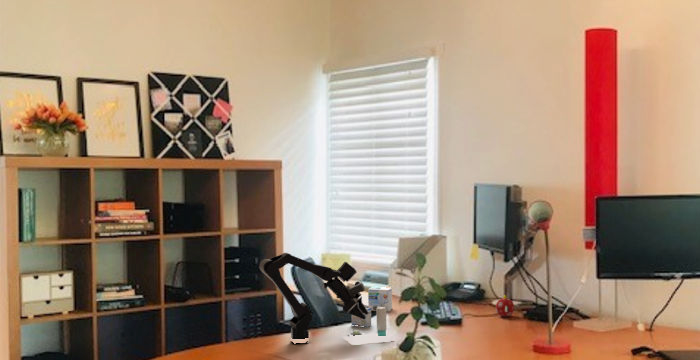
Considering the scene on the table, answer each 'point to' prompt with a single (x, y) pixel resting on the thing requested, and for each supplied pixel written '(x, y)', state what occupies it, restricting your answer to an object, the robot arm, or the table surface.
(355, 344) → the table surface
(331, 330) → the table surface
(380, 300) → the light bulb box
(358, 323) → the medicine box
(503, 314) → the christmas ornament
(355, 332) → the button
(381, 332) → the beige teal tall box
